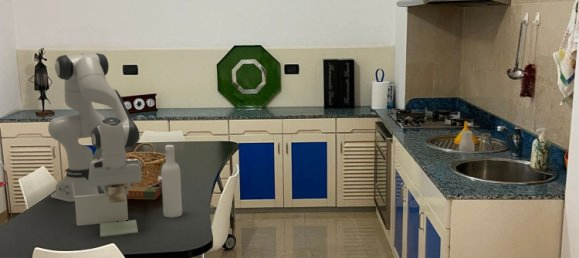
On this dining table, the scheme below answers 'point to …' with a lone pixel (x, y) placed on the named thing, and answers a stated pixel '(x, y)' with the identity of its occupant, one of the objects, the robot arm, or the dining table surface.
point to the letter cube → (116, 193)
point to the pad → (118, 228)
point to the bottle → (171, 185)
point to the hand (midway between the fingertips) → (116, 195)
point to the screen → (99, 209)
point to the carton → (143, 192)
